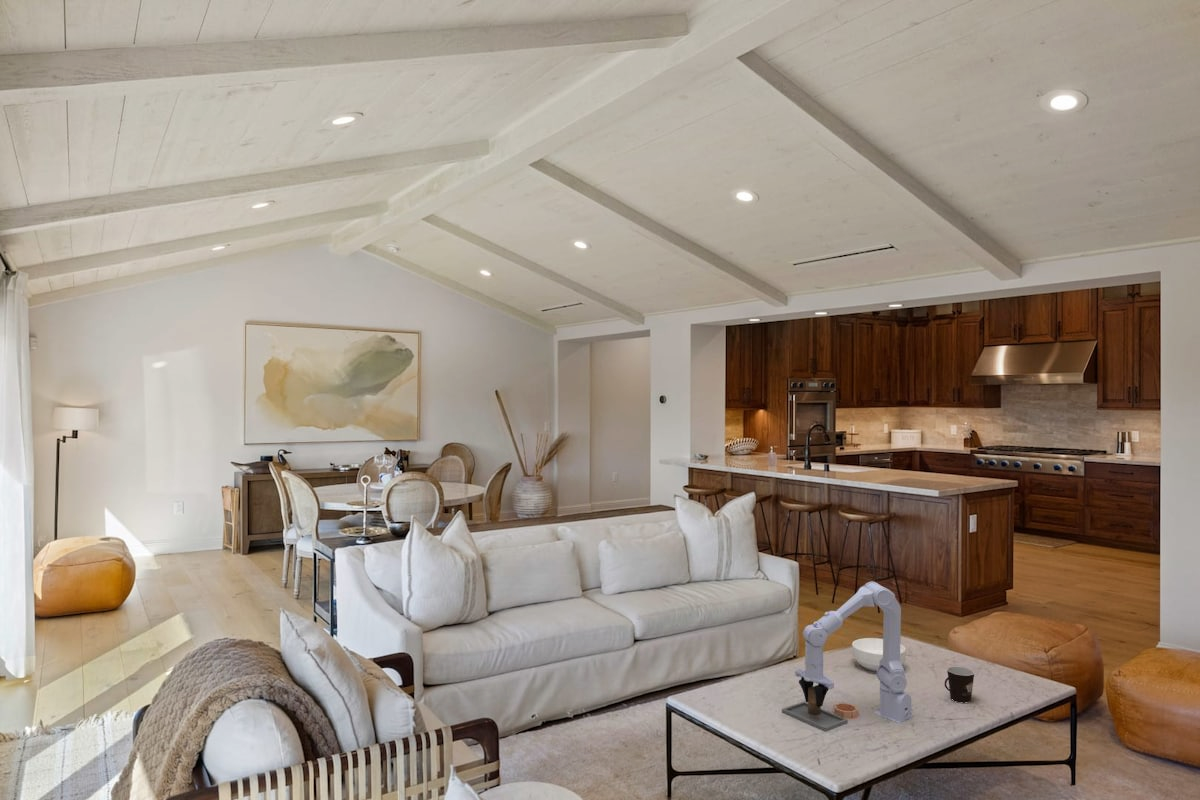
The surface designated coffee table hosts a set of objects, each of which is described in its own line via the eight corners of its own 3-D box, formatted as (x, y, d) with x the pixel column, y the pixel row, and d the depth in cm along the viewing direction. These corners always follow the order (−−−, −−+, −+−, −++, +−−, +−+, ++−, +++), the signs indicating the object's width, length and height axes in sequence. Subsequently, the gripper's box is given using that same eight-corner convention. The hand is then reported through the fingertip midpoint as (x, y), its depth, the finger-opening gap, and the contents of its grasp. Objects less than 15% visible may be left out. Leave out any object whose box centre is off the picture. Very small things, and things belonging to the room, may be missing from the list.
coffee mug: (966, 694, 276) (966, 666, 276) (979, 704, 267) (979, 675, 267) (934, 695, 275) (934, 666, 275) (945, 704, 267) (945, 675, 267)
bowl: (900, 680, 289) (900, 657, 289) (846, 670, 300) (846, 648, 299) (909, 664, 306) (909, 643, 306) (858, 655, 316) (858, 635, 316)
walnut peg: (823, 713, 255) (823, 689, 255) (814, 716, 253) (814, 691, 253) (813, 709, 259) (813, 685, 259) (805, 712, 256) (805, 688, 256)
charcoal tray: (847, 724, 252) (847, 719, 252) (825, 732, 245) (825, 728, 245) (803, 705, 266) (803, 701, 266) (781, 713, 260) (781, 709, 260)
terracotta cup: (864, 716, 258) (864, 708, 258) (848, 722, 253) (848, 714, 253) (843, 707, 265) (843, 700, 265) (827, 713, 260) (827, 706, 260)
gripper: (788, 658, 259) (788, 699, 259) (823, 671, 247) (823, 714, 248) (803, 654, 263) (803, 694, 263) (838, 667, 251) (838, 709, 252)
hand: (814, 703), depth 256 cm, fingers closed on walnut peg, 4 cm apart
